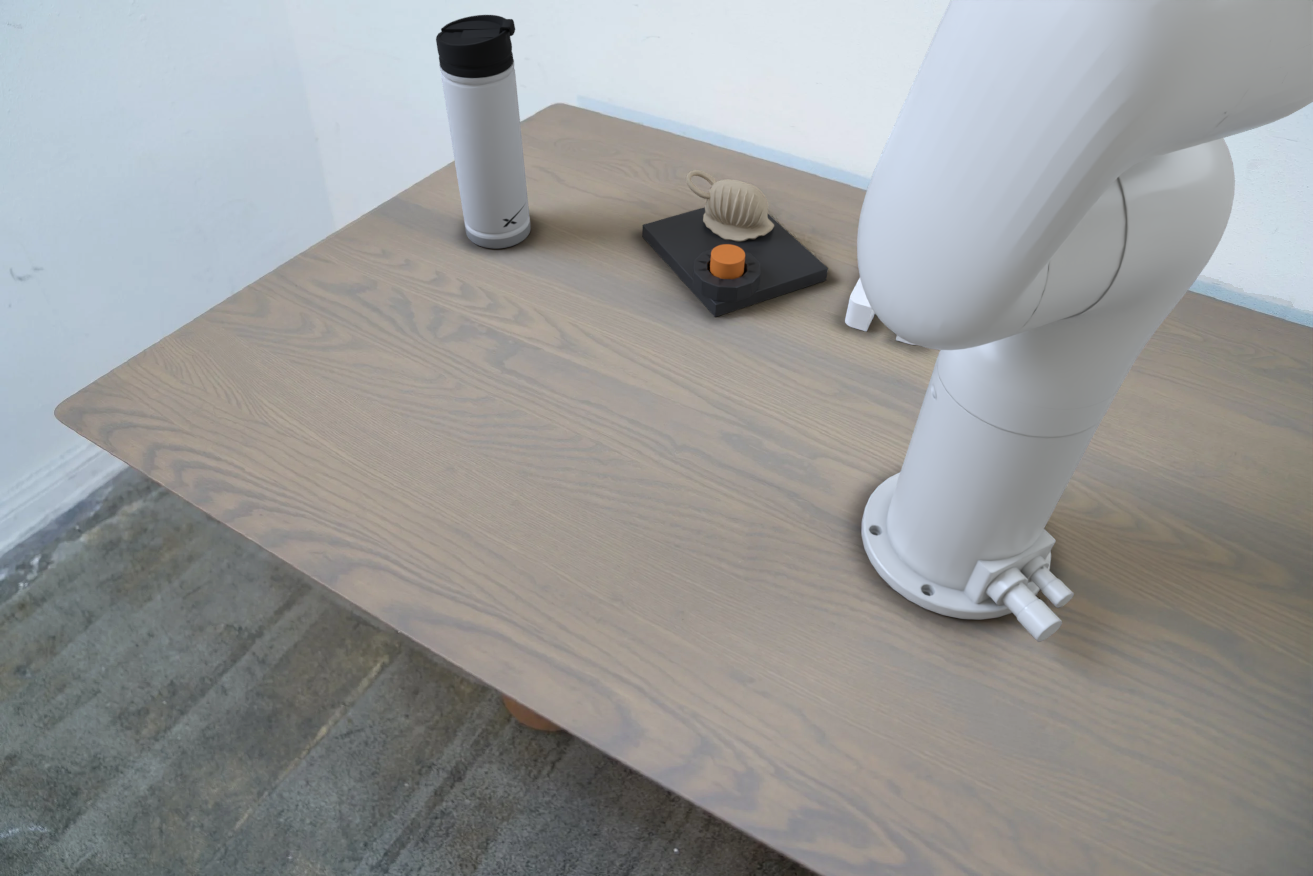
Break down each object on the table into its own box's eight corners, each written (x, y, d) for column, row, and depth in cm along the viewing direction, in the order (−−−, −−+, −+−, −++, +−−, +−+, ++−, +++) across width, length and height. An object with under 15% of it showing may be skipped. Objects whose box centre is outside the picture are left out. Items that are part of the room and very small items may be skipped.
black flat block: (829, 283, 83) (834, 256, 81) (713, 321, 79) (715, 294, 77) (746, 206, 92) (749, 180, 90) (638, 237, 88) (638, 211, 85)
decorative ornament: (762, 249, 84) (768, 198, 80) (679, 228, 86) (682, 178, 83) (775, 226, 87) (782, 177, 83) (695, 207, 89) (698, 157, 85)
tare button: (750, 274, 79) (751, 258, 78) (720, 284, 78) (722, 267, 77) (732, 257, 81) (733, 240, 80) (703, 265, 80) (704, 249, 79)
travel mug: (530, 250, 86) (508, 38, 71) (461, 249, 86) (425, 36, 71) (537, 214, 90) (518, 8, 76) (472, 213, 90) (440, 6, 76)
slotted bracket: (920, 347, 77) (942, 272, 71) (842, 324, 79) (858, 249, 73) (953, 266, 85) (975, 193, 80) (881, 248, 87) (898, 175, 81)
